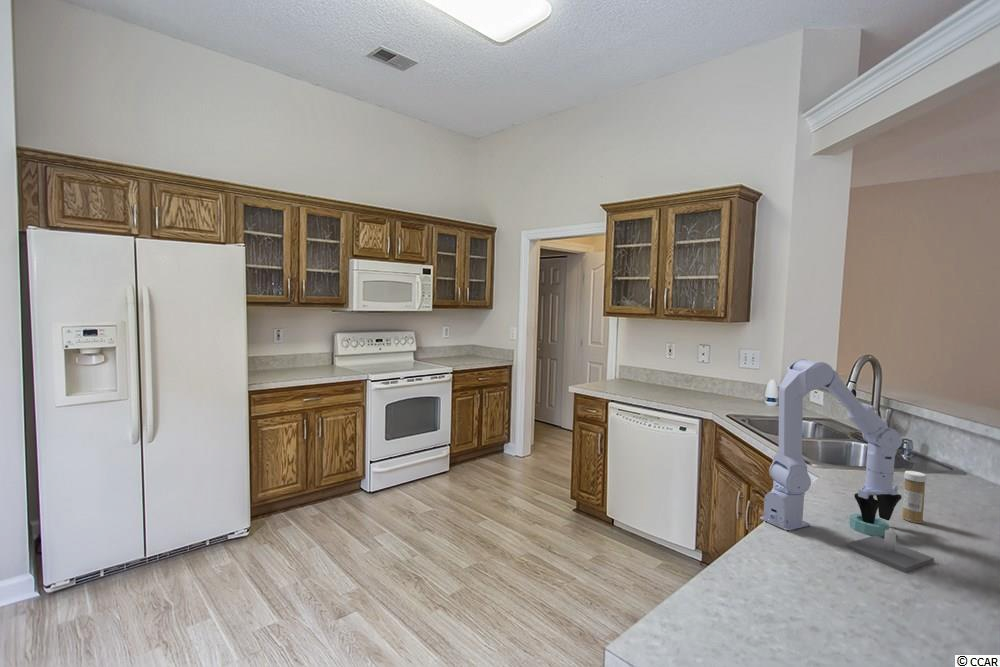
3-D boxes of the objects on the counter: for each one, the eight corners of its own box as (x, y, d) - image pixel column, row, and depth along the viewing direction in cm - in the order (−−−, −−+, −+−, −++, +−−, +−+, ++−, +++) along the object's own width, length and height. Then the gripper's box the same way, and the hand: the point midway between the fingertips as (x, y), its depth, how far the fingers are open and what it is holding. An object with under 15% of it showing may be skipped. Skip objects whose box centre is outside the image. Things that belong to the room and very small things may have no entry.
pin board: (905, 572, 105) (907, 547, 105) (846, 547, 116) (847, 525, 116) (933, 562, 110) (935, 538, 110) (874, 539, 121) (876, 517, 121)
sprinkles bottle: (925, 521, 134) (928, 473, 133) (919, 525, 131) (923, 476, 131) (904, 515, 137) (908, 469, 137) (898, 518, 135) (902, 471, 134)
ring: (877, 538, 122) (877, 528, 122) (843, 525, 129) (843, 516, 129) (894, 533, 125) (895, 524, 125) (860, 521, 132) (861, 512, 132)
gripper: (881, 478, 121) (877, 531, 122) (912, 472, 127) (909, 522, 128) (851, 470, 127) (847, 520, 128) (882, 464, 134) (878, 512, 134)
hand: (876, 521), depth 128 cm, fingers open, 7 cm apart
